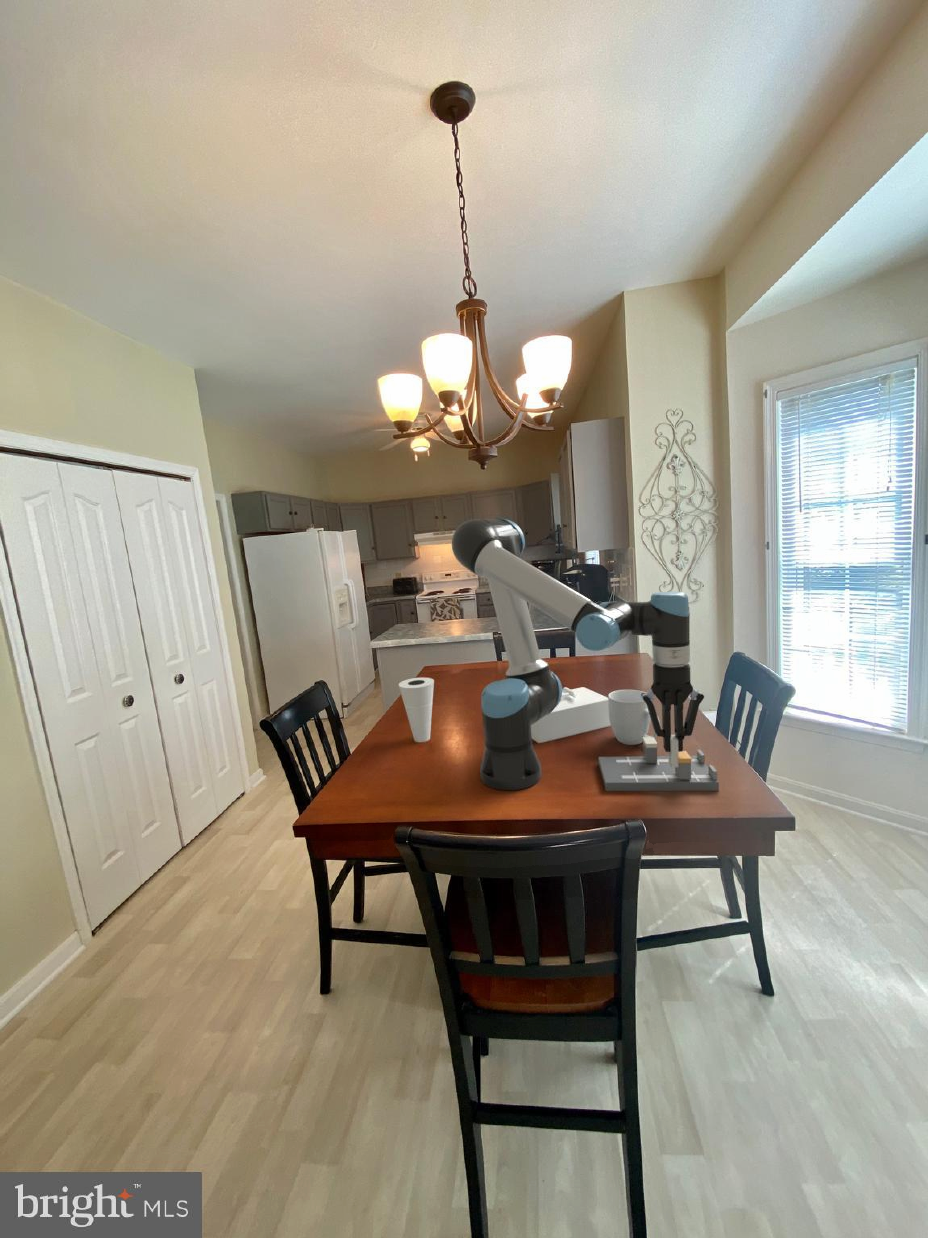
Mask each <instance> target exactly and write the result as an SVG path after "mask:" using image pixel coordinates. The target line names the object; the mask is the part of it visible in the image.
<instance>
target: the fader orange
mask: <svg viewBox="0 0 928 1238" xmlns="http://www.w3.org/2000/svg"><path fill="white" fill-rule="evenodd" d="M690 756H691V755H690V754H689V752H687V750H683V751H682V752H678V758H679V767H675V772H676V774H677V776H678V777H679V779H680V780H681V779H691V763H692V758H691V757H690Z"/></svg>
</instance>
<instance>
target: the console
mask: <svg viewBox="0 0 928 1238" xmlns="http://www.w3.org/2000/svg"><path fill="white" fill-rule="evenodd" d="M689 756H690V757H691V758H692V763H691V779H681V780H680V779H679V777H678V776H677V774H676V772H675V767H671V765H670V764H669V760H668V755H657V763H647V762H646V760H645V758H644V755H641V756H598V766H599V770H600V775H601V777H602V781H603V785H604V788H605V791H606V792H616V791H617V792H627V791H628V792H642V791H643V792H649V791H650V792H651V791H652V792H653V791H654V792H662V791H663V792H667V791H668V792H672V791H673V792H674V791H675V792H676V791H677V792H678V791H679V792H680V791H682V792H684V791H685V792H688V791H689V792H691V791H692V792H693V791H695V792H699V791H701V792H703V791H704V792H705V791H706V792H708V791H709V792H710V791H711V792H712V791H715V792H716V791H717V792H718V791H720V782H719V781H718V771H717V769H716V768H715V767H714V766H713V765H712V764H709V765H707V764H706V762H705V761H706V757H705V753H704V752H703V751H702V749H696V755H689Z"/></svg>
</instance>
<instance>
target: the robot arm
mask: <svg viewBox="0 0 928 1238" xmlns="http://www.w3.org/2000/svg"><path fill="white" fill-rule="evenodd" d="M525 546H526V540H525V535H524V533H523V531H522V529H521V528H520V526H519V525H518V524H517V523H515V522H514V521H512V520H509V519H506V518H502V517H501V518H500V517H495V518H485V519H484V518H481V519H480V518H475V519H469V520H467V521H464V522H463V523H461V524H460V525H459V526H457V528H456V530H455V531H454V533H453V535H452V538H451V549H452V550H451V551H452V554H453V556H454V557H455V559H456V560H457V562H458V563H459V564H460V565H462V566H463V567H464V568H466V569H467V570H468V571H470V572H472V573H473V574H474V575H476V576H477V577H480V578H481V577H482V578H484V579H486V580H487V583H488V588H489V590H490V595H491V598H492V603H493V607H494V610H495V615H496V618H497V623H498V625H499V630H500V634H501V637H502V638H501V639H502V641H503V645H504V650H505V653H506V657H507V661H508V666H509V667H508V668H507V670H506V672H505V676H506V677H505V678H503V679H501V680H495V681H493V682H491V683H489V684H487V685H486V686H485V687H484V688H483V690H482V691H481V703H480V708H481V712H482V723H483V736H484V747H485V748H484V751H483V756H482V760H481V764H480V769H479V773H480V780H481V782H482V783H483V784H484V785H486V786H487V787H489V788H492V789H494V790H495V789H496V790H500V791H518V790H524V789H527V788H530V787H532V786H534V785H536V784H537V783H538V782H539V781H540V780H541V778H542V766H541V763H540V759H539V758H538V755H537V752H536V751H535V748H534V746H533V739H532V733H531V725H532V724H534V723H535V722H537V721H538V720H540V719H541V718H542V717H544V716H545V715H547V714H549V713H551V712H552V711H553V710H554V708H555V707H556V706H557V705H558V704H559V702H560V700H561V697H562V689H563V685H562V682H561V680H560V678H559V677H558V676H557V674H555V673H554V672H553V670H550V665H549V663H548V662H547V661H545V660H543V659H542V658H541V654H540V650H539V646H538V642H537V638H536V634H535V630H534V624H533V623H532V617H531V614H530V610H529V606H528V604H529V605H531V606H533V607H535V608H536V609H538V610H539V611H540V612H543V613H544V614H545V615H547V616H549V617H550V618H551V619H553V620H555V621H556V622H558V623H559V624H561V625H563V626H564V627H566V628H567V629H569V630H570V631H572V632H574V633H575V635H576V638H577V640H578V642H579V643H580V645H581V646H582V647H583V648H585V649H586V650H590V651H592V652H599V651H602V650H605V649H609V648H611V647H613V646H614V645H615V644H616V643H617V642H619V641H621V640H623V639H625V638H626V637H628V636H645V637H648V636H649V637H650V636H651V643H652V646H651V647H652V661H653V664H652V679H653V681H652V685H651V686H650V690H648V691H647V692H645V693H642V694H641V697H642V698H643V700H644V701H645V703H646V704H647V708H648V711H649V714H650V718H651V719H650V722H651V723H652V729H653V731H654V733H656V734H657V736H658V737H661V738H662V740H663V749H664V751H665V753H668V754H667V756H668V760H669V764H670V765H671V767H679V758H678V752H682V751H684V740H685V737H690V736H692V735H693V732H694V727H695V723H696V720H697V715H698V711H699V708H700V704H701V703H702V702H703V700H704V699H705V695H704V694H703V693H702V692H701V691H700V690H696V689H695V688H694V686H693V685H692V683H691V664H689V662H691V649H690V648H691V647H690V644H691V642H690V626H691V625H690V624H691V623H690V618H691V617H690V616H691V612H690V607H689V605H690V603H689V597H688V595H687V593H685V592H683V591H658V592H655V593H652V594H651V596H650V600H649V601H616V600H613V601H604V602H601V603H599V604H598V603H595V602H594V601H592V600H591V599H589V598H588V597H586V596H584V595H583V594H581V593H580V592H577V591H576V590H574V589H572V588H571V587H570V586H567V585H566V584H564V583H562V582H560V581H559V580H557V579H556V578H554V577H552V576H550V575H549V574H547V573H546V572H544V571H542V570H541V569H538V568H537V567H535V566H534V565H532V564H530V563H529V562H527V561H525V560H523V558H522V554H523V551H524V549H525ZM654 696H655V697H656V698H657V699H658V700H659V702H660V703H661V718H662V719H661V721H662V722H661V723H662V725H661V723H660V724H659V721H658V718H659V716H658V713H657V710H656V707H655V705H654V703H653V702H654V701H655V698H654ZM688 698H690V700H689V703H688V707H687V712H686V715H685V720H684V703H685V702H686V701H687V699H688ZM672 705H673V713H674V714H673V717H674V719H673V720H674V721H673V723H674V734H672V724H671V723H672V721H671V710H672ZM657 716H658V717H657ZM660 725H661V726H662V727H660Z"/></svg>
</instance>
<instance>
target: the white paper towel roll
mask: <svg viewBox="0 0 928 1238" xmlns="http://www.w3.org/2000/svg"><path fill="white" fill-rule="evenodd" d="M434 685H435V680H434V679H433V678H431V677H414V678H413V677H412V678H408V679H405V680H403V681H400V682H399V683H398V687H399V691H400V694H401V697H402V701H403V704H404V710H405V713H406V716H407V719H408V722H409V727H410V730H411V733H412V737H413V740H414V742H416V743H426V742H428V741H429V740H430V739H431V730H432V727H431V726H432V714H433V713H432V712H433V703H434V702H433V699H434V687H435V686H434Z"/></svg>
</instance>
